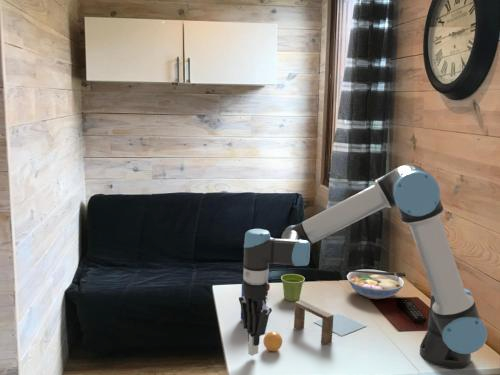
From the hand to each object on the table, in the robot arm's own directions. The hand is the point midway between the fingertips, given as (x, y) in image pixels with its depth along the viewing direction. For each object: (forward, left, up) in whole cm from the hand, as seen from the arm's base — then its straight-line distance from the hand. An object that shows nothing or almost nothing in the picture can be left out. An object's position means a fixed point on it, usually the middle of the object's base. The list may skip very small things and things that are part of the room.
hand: (253, 353), depth 161 cm
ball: (0, -8, +1) cm, 8 cm away
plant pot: (+27, -42, -2) cm, 50 cm away
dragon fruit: (+37, -33, -2) cm, 50 cm away
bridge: (0, -26, -2) cm, 26 cm away
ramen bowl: (+10, -72, -2) cm, 73 cm away
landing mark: (0, -40, -2) cm, 40 cm away
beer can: (+20, -16, -2) cm, 26 cm away
